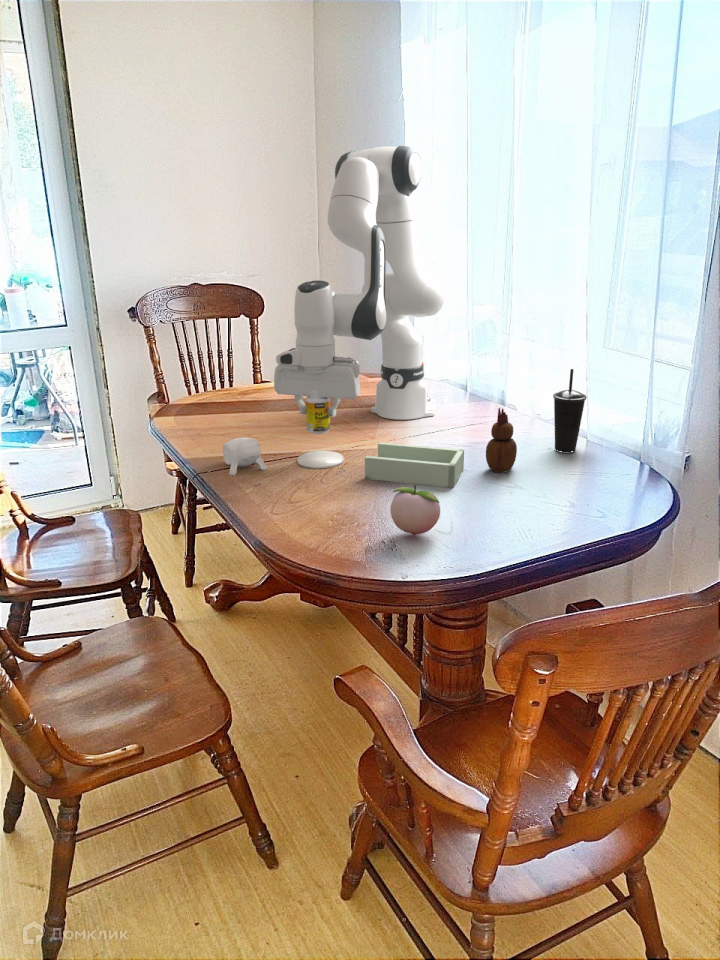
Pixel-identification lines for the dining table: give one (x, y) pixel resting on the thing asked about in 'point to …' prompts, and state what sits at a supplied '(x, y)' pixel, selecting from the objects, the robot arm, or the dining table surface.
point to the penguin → (242, 454)
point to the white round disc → (320, 459)
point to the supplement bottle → (317, 413)
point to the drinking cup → (567, 417)
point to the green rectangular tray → (415, 464)
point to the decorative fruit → (414, 510)
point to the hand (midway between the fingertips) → (318, 414)
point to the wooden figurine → (501, 445)
